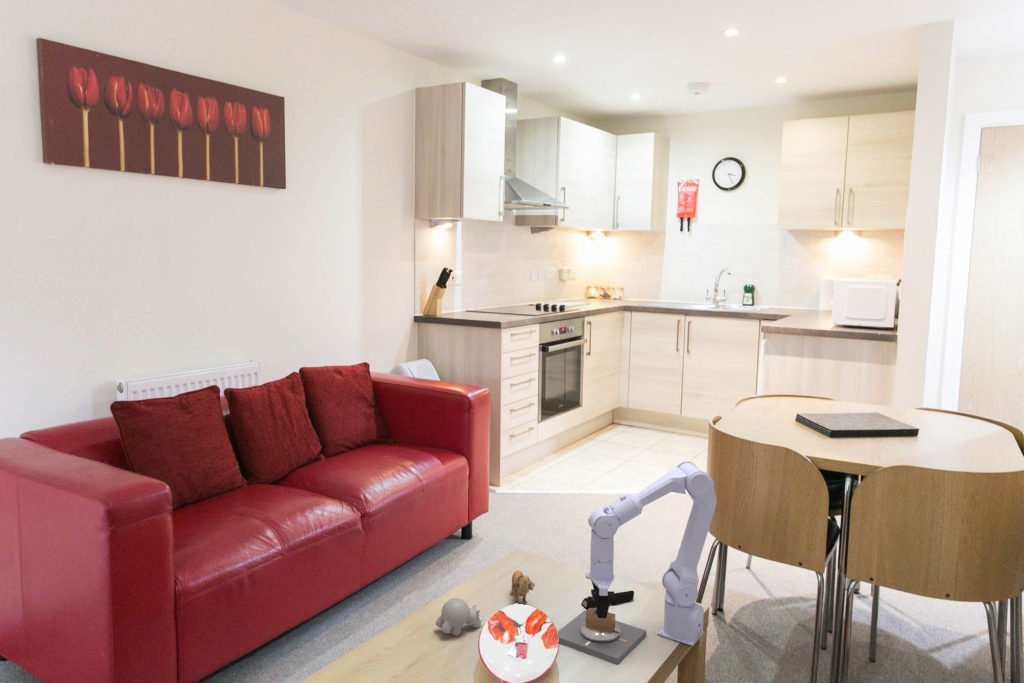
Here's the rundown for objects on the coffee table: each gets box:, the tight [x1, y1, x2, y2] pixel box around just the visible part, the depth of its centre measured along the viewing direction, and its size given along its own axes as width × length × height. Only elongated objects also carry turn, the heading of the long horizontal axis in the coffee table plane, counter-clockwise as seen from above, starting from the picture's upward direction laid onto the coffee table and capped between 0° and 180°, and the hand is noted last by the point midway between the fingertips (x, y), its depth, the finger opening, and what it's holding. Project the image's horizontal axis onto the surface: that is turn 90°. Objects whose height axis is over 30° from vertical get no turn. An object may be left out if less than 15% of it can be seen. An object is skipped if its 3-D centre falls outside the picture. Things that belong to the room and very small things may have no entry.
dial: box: [580, 608, 620, 642], centre depth 182 cm, size 10×10×5 cm
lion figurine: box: [509, 570, 536, 605], centre depth 204 cm, size 15×5×9 cm, turn 17°
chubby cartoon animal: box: [435, 597, 484, 637], centre depth 186 cm, size 7×12×8 cm, turn 114°
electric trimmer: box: [580, 590, 635, 611], centre depth 201 cm, size 4×16×3 cm, turn 110°
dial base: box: [557, 609, 648, 665], centre depth 183 cm, size 18×16×2 cm
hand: (601, 609), depth 182 cm, fingers open, 7 cm apart
